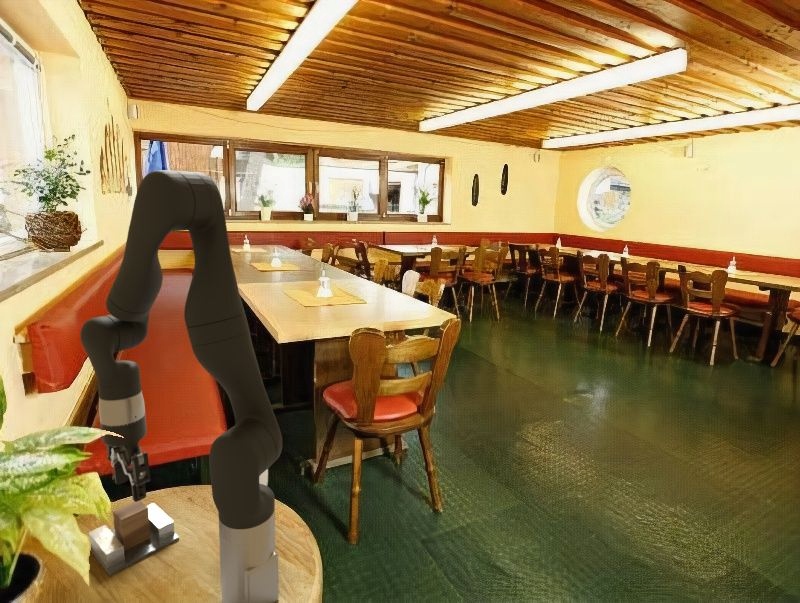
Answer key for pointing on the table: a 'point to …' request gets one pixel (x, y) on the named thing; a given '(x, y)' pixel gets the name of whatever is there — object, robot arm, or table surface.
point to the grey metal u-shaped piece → (115, 556)
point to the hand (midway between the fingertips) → (130, 490)
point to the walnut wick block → (131, 524)
